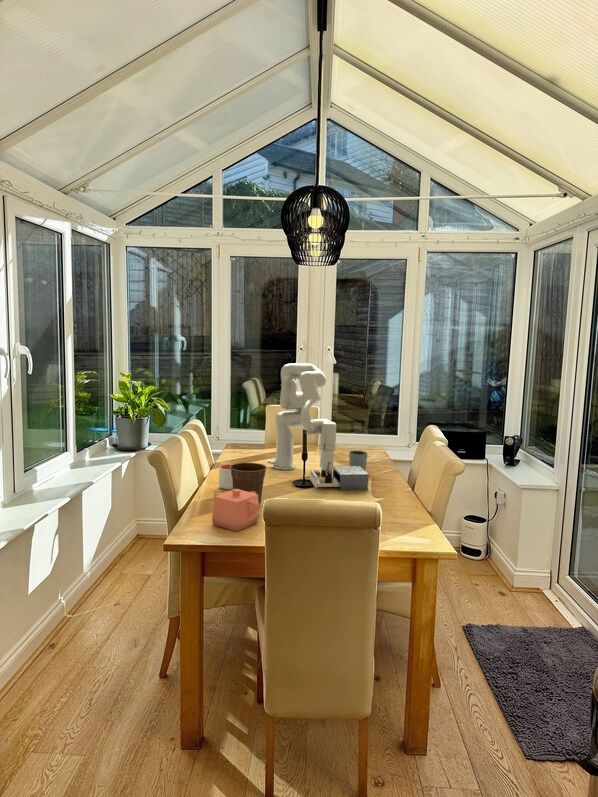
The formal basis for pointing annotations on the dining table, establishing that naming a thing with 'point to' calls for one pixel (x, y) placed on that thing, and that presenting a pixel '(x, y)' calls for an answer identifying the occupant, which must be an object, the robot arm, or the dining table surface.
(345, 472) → the housing
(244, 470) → the plant pot
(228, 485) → the cup
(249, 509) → the teapot
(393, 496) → the dining table surface
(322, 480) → the pink domed disc
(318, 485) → the white drawer
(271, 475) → the dining table surface
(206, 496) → the dining table surface
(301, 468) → the dining table surface
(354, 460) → the grey green tumbler
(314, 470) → the walnut block
